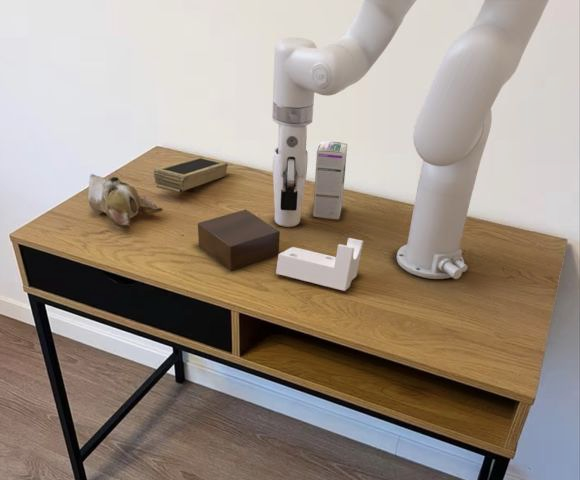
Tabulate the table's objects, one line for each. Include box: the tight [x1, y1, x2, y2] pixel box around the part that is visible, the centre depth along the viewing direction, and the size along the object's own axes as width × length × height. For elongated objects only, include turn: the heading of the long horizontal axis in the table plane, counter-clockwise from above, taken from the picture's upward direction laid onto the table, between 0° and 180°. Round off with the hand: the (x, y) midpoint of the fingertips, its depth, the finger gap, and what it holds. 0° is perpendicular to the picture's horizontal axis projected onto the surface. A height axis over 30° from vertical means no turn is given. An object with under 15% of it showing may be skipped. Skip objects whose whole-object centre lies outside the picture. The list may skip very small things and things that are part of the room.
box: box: [153, 155, 229, 194], centre depth 144 cm, size 8×22×5 cm, turn 156°
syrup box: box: [312, 140, 348, 220], centre depth 132 cm, size 6×6×14 cm
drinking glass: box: [272, 146, 309, 228], centre depth 127 cm, size 7×7×15 cm
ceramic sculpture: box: [87, 173, 164, 228], centre depth 127 cm, size 11×9×15 cm
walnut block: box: [197, 208, 281, 272], centre depth 120 cm, size 11×11×5 cm
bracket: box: [275, 237, 364, 292], centre depth 113 cm, size 13×7×8 cm, turn 68°
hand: (288, 201), depth 129 cm, fingers closed on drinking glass, 5 cm apart
